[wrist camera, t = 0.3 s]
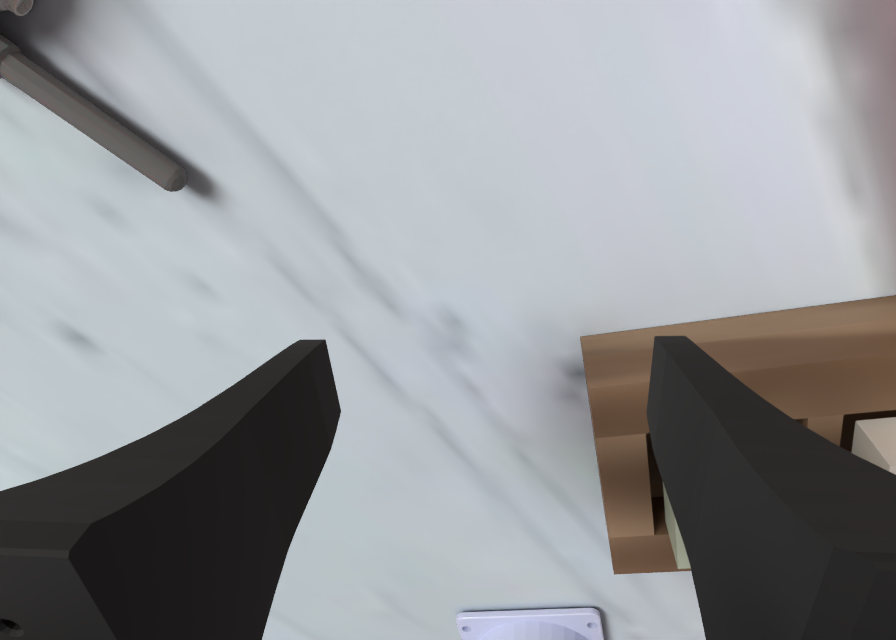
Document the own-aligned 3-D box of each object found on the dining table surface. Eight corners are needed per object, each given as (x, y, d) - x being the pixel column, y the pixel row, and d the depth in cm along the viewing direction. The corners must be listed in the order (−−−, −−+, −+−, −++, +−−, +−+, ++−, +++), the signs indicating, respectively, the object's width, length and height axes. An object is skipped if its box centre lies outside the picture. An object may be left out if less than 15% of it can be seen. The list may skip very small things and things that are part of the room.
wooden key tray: (1160, 472, 24) (1253, 543, 21) (604, 511, 28) (614, 574, 25) (1266, 246, 19) (1406, 296, 16) (580, 336, 24) (588, 388, 20)
